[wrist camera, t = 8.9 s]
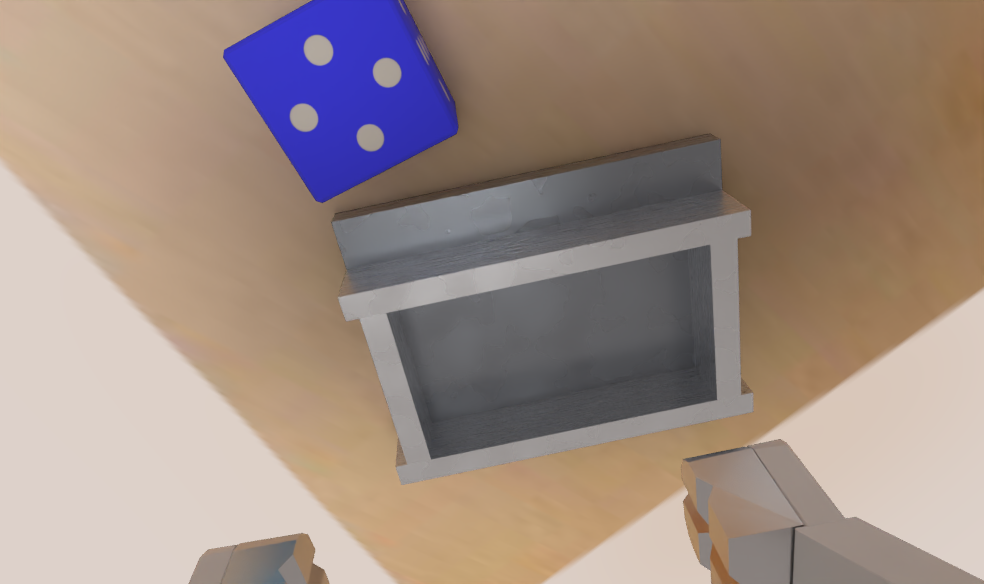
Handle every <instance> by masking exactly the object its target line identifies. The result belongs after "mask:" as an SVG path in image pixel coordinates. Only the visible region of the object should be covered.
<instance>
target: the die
mask: <svg viewBox="0 0 984 584" xmlns="http://www.w3.org/2000/svg"><path fill="white" fill-rule="evenodd" d="M223 58H224V60H225V61H226V63H227V64H228V66H229V67H230V69H231V70H232V72H233V73H234V75H235V77H236V78H237V80H238V81H239V83H240V84H241V86H242V87H243V89H244V90H245V92H246V94H247V95H248V97H249V98H250V100H251V101H252V103H253V104H254V106H255V107H256V109H257V111H258V112H259V114H260V115H261V117H262V118H263V120H264V121H265V123H266V124H267V126H268V128H269V129H270V131H271V132H272V134H273V135H274V137H275V138H276V140H277V141H278V143H279V145H280V146H281V148H282V149H283V151H284V152H285V154H286V155H287V157H288V158H289V160H290V161H291V163H292V165H293V166H294V168H295V169H296V171H297V172H298V174H299V175H300V177H301V178H302V180H303V182H304V183H305V185H306V186H307V188H308V189H309V191H310V192H311V194H312V195H313V197H314V199H315V200H316V201H318V202H321V203H323V202H325V201H327V200H329V199H331V198H333V197H335V196H337V195H339V194H341V193H343V192H345V191H347V190H349V189H350V188H352V187H354V186H356V185H358V184H360V183H362V182H364V181H366V180H368V179H370V178H372V177H374V176H376V175H378V174H380V173H382V172H384V171H385V170H387V169H389V168H391V167H393V166H395V165H397V164H399V163H401V162H403V161H405V160H407V159H409V158H411V157H413V156H415V155H417V154H418V153H420V152H422V151H424V150H426V149H428V148H430V147H432V146H434V145H436V144H438V143H440V142H442V141H444V140H446V139H448V138H450V137H452V136H453V135H455V134H457V131H458V121H457V114H456V108H455V102H454V100H453V98H452V96H451V94H450V92H449V90H448V88H447V86H446V84H445V82H444V80H443V78H442V76H441V74H440V72H439V70H438V68H437V66H436V64H435V62H434V60H433V58H432V56H431V54H430V52H429V50H428V48H427V46H426V44H425V42H424V40H423V38H422V36H421V34H420V32H419V30H418V28H417V26H416V24H415V22H414V20H413V18H412V16H411V14H410V12H409V10H408V8H407V6H406V4H405V2H404V0H312V1H310V2H308V3H307V4H305V5H303V6H301V7H300V8H298V9H296V10H294V11H292V12H291V13H289V14H287V15H285V16H284V17H282V18H280V19H278V20H277V21H275V22H273V23H271V24H269V25H268V26H266V27H264V28H262V29H261V30H259V31H257V32H255V33H253V34H252V35H250V36H248V37H246V38H245V39H243V40H241V41H239V42H237V43H236V44H234V45H232V46H230V47H229V48H227V49H225V50H224V55H223Z"/></svg>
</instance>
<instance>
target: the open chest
mask: <svg viewBox="0 0 984 584" xmlns="http://www.w3.org/2000/svg"><path fill="white" fill-rule="evenodd" d="M331 223H332V226H333V229H334V232H335V235H336V239H337V242H338V245H339V248H340V251H341V254H342V257H343V260H344V263H345V266H346V269H347V270H346V273H345V276H344V279H343V283H342V286H341V289H340V292H339V295H338V300H339V303H340V306H341V309H342V312H343V314H344V317H345V320H346V321H351V320H355V319H360V322H361V325H362V328H363V331H364V334H365V337H366V340H367V343H368V347H369V350H370V353H371V356H372V359H373V362H374V365H375V368H376V371H377V374H378V377H379V380H380V383H381V386H382V389H383V392H384V395H385V398H386V401H387V404H388V407H389V410H390V413H391V416H392V419H393V422H394V425H395V428H396V431H397V434H398V445H397V457H396V470H397V472H398V475H399V478H400V481H401V484H402V485H404V484H409V483H414V482H419V481H423V480H428V479H433V478H438V477H443V476H448V475H452V474H457V473H462V472H467V471H472V470H476V469H481V468H486V467H491V466H496V465H500V464H505V463H510V462H515V461H520V460H525V459H529V458H534V457H539V456H544V455H549V454H553V453H558V452H563V451H568V450H573V449H577V448H582V447H587V446H592V445H597V444H602V443H606V442H611V441H616V440H621V439H626V438H630V437H635V436H640V435H645V434H650V433H654V432H659V431H664V430H669V429H674V428H679V427H683V426H688V425H693V424H698V423H703V422H707V421H712V420H717V419H722V418H727V417H731V416H736V415H741V414H746V413H751V412H753V392H752V390H751V389H750V388H749V387H748V385H747V384H746V383H745V382H744V380H743V379H742V378H741V366H740V322H739V278H738V238H743V237H748V236H751V210H750V209H749V208H748V207H746V206H745V205H743V204H742V203H740V202H739V201H738V200H736V199H735V198H733V197H732V196H730V195H729V194H728V193H726V192H725V191H723V190H722V170H721V140H720V139H719V138H717V137H715V136H714V135H712V134H706V135H702V136H697V137H692V138H688V139H683V140H678V141H674V142H669V143H664V144H660V145H655V146H650V147H646V148H641V149H636V150H631V151H627V152H622V153H617V154H613V155H608V156H603V157H599V158H594V159H589V160H585V161H580V162H575V163H571V164H566V165H561V166H557V167H552V168H547V169H543V170H538V171H533V172H529V173H524V174H519V175H515V176H510V177H505V178H501V179H496V180H491V181H487V182H482V183H477V184H472V185H468V186H463V187H458V188H454V189H449V190H444V191H440V192H435V193H430V194H426V195H421V196H416V197H412V198H407V199H402V200H398V201H393V202H388V203H384V204H379V205H374V206H370V207H365V208H360V209H356V210H351V211H346V212H342V213H337V214H335V215H334V217H333V219H332V222H331Z"/></svg>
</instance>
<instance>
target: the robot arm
mask: <svg viewBox="0 0 984 584" xmlns="http://www.w3.org/2000/svg"><path fill="white" fill-rule="evenodd" d="M681 473H682V480H683V483H684V485H685V487H686V489H687V491H688V495H687V496H686V498H685V499H684V501H683V504H684V514H685V520H686V525H687V529H688V534H689V537H690V540H691V543H692V545H693V549H694V551H695V553H696V555H697V558H698V560H699V562H700V564H701V565H703V566H704V567H706V568H707V569H709V570H710V571H711V584H984V581H983V580H981V579H979V578H977V577H975V576H973V575H971V574H969V573H967V572H965V571H963V570H961V569H959V568H957V567H955V566H953V565H951V564H949V563H947V562H945V561H943V560H941V559H939V558H937V557H935V556H933V555H931V554H929V553H927V552H925V551H923V550H921V549H919V548H917V547H915V546H913V545H911V544H909V543H907V542H905V541H903V540H901V539H899V538H897V537H895V536H893V535H891V534H889V533H887V532H885V531H883V530H881V529H879V528H877V527H875V526H873V525H871V524H869V523H867V522H865V521H863V520H861V519H859V518H857V517H852V518H846V519H845V518H844V517H843V515H842V514H841V512H840V511H839V510H838V509H837V507H836V506H835V505H834V503H833V502H832V501H831V500H830V498H829V497H828V496H827V494H826V493H825V492H824V491H823V489H822V488H821V487H820V485H819V484H818V483H817V482H816V480H815V479H814V477H813V476H812V475H811V474H810V472H809V471H808V470H807V468H806V467H805V466H804V465H803V463H802V462H801V461H800V459H799V458H798V457H797V456H796V454H795V453H794V452H793V450H792V449H791V448H790V446H789V445H788V444H787V443H786V442H784V441H782V440H781V439H779V440H774V441H769V442H764V443H759V444H754V445H750V446H747V447H741V448H736V449H731V450H726V451H721V452H716V453H711V454H706V455H701V456H696V457H691V458H686V459H683V460H682V465H681ZM314 553H315V548H314V546H313V544H312V542H311V540H310V538H309V536H308V534H303V533H301V534H294V535H288V536H282V537H276V538H270V539H264V540H258V541H253V542H247V543H241V544H239V545H233V546H227V547H220V548H215V549H209V550H207V551H206V552H205V553H204V554H203V555H202V556H201V557H200V559H199V561H198V563H197V565H196V568H195V570H194V572H193V575H192V577H191V580H190V582H189V584H329V581H328V578H327V576H326V573H325V571H324V569H322V568H320V567H318V566H317V565H315V564H313V558H314Z"/></svg>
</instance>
